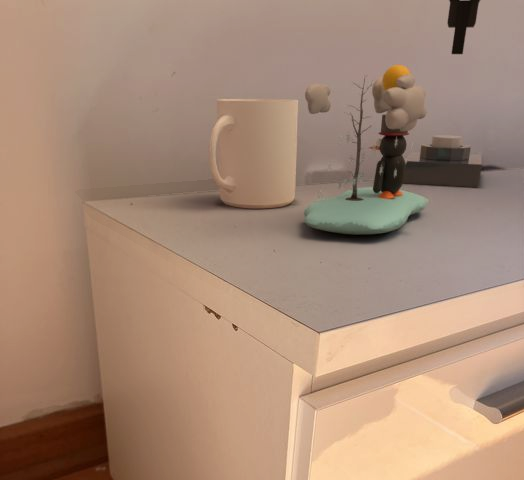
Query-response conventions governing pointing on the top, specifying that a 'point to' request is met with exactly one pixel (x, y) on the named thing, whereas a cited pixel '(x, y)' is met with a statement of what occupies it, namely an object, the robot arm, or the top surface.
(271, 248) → the top surface
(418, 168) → the push button box
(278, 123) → the mug
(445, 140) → the flush button
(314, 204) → the penguin figurine
